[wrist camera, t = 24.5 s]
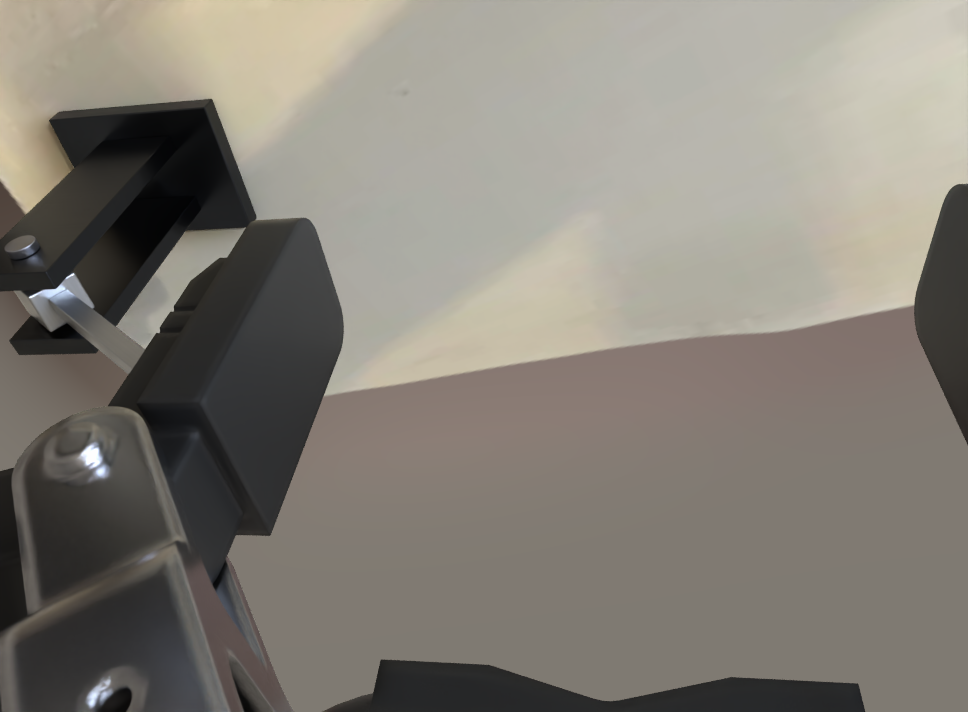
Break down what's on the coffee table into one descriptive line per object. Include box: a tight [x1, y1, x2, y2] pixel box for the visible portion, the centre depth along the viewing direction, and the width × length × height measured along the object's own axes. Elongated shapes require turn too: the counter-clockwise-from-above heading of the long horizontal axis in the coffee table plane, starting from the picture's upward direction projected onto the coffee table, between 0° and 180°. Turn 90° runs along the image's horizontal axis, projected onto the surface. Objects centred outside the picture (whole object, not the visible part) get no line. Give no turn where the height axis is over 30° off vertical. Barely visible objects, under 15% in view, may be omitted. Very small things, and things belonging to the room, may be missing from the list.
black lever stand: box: [0, 99, 256, 355], centre depth 42 cm, size 10×8×15 cm
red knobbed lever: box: [14, 271, 145, 375], centre depth 34 cm, size 17×4×4 cm
